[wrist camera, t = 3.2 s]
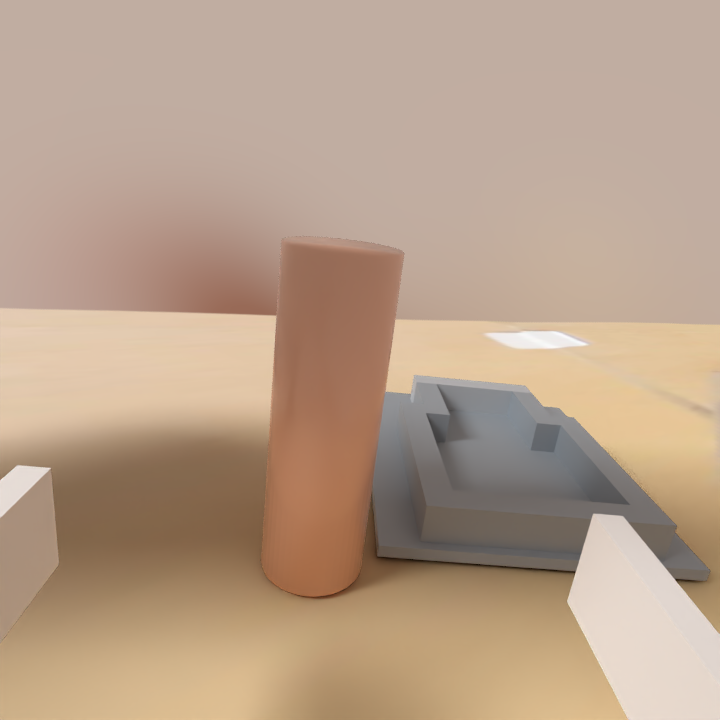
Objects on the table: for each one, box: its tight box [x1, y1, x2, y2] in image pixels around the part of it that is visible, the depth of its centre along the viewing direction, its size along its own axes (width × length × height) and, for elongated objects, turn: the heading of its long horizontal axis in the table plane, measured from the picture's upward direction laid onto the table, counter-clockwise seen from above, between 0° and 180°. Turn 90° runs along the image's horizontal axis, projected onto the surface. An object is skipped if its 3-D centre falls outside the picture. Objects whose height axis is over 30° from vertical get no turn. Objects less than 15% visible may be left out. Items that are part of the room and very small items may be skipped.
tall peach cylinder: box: [261, 236, 404, 597], centre depth 22 cm, size 4×4×14 cm
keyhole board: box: [372, 375, 710, 581], centre depth 34 cm, size 16×19×3 cm
